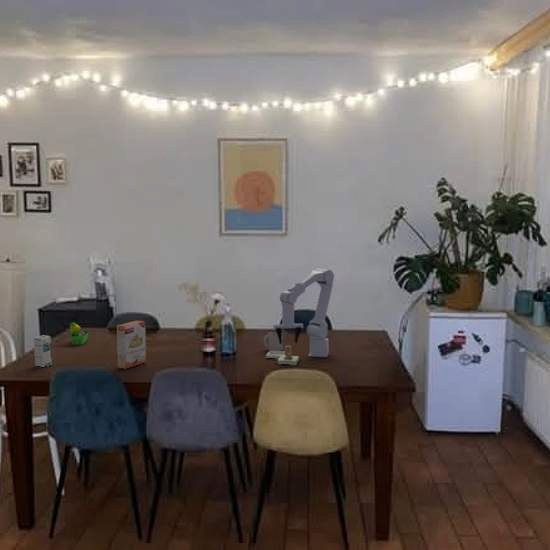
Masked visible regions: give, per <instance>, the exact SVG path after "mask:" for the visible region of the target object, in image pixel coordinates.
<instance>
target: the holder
mask: <svg viewBox="0 0 550 550" xmlns="http://www.w3.org/2000/svg"><path fill="white" fill-rule="evenodd" d="M299 360H300V356H299V355H291V360H288V359H285V356H280V358H279V359H277V365H281V364H289V365H288V366H297V364H298V363H299ZM297 362H298V363H297Z"/></svg>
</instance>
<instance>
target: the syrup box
mask: <svg viewBox="0 0 550 550" xmlns="http://www.w3.org/2000/svg"><path fill="white" fill-rule="evenodd" d="M33 346H34V347H33V349H34V350H33V351H34V362H35V363H34V364H35V365H36V366H41V367H45V366H47V367H50V366H49V365H51V366H53V365H52V364H53V350H52V337H51V335H46V334H43V335H39V336H35V337H33ZM36 366H35V367H36ZM41 367H40V368H41ZM45 368H46V367H45Z"/></svg>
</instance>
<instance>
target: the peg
mask: <svg viewBox="0 0 550 550" xmlns="http://www.w3.org/2000/svg"><path fill="white" fill-rule="evenodd" d="M284 351H285V359H288V360H291V356H292V345H285V346H284Z"/></svg>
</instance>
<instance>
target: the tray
mask: <svg viewBox="0 0 550 550" xmlns="http://www.w3.org/2000/svg"><path fill="white" fill-rule="evenodd" d="M280 356H285V350H282V351H268V352H267V353H266V355H265V359H266V358H275V359H274V360H278V359H279V358H280Z"/></svg>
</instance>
